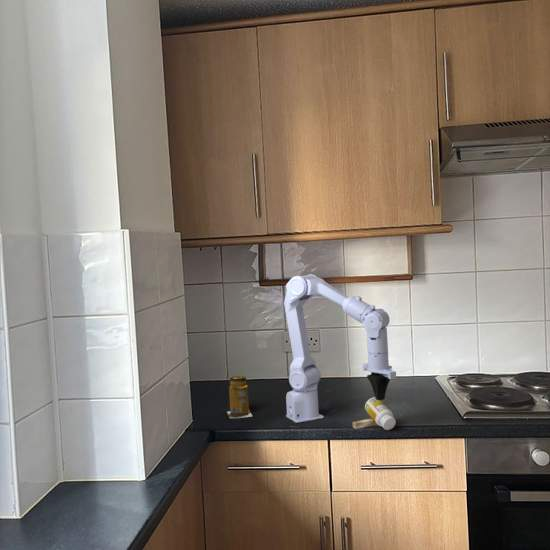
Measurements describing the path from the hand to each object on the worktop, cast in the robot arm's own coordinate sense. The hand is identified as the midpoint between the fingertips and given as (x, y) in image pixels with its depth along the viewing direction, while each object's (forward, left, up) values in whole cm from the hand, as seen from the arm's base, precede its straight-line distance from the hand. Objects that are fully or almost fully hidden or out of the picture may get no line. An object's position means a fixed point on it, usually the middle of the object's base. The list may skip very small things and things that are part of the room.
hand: (380, 399), depth 163 cm
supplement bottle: (0, +5, -2) cm, 6 cm away
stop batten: (-1, +3, -8) cm, 9 cm away
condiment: (-31, +35, -8) cm, 48 cm away
